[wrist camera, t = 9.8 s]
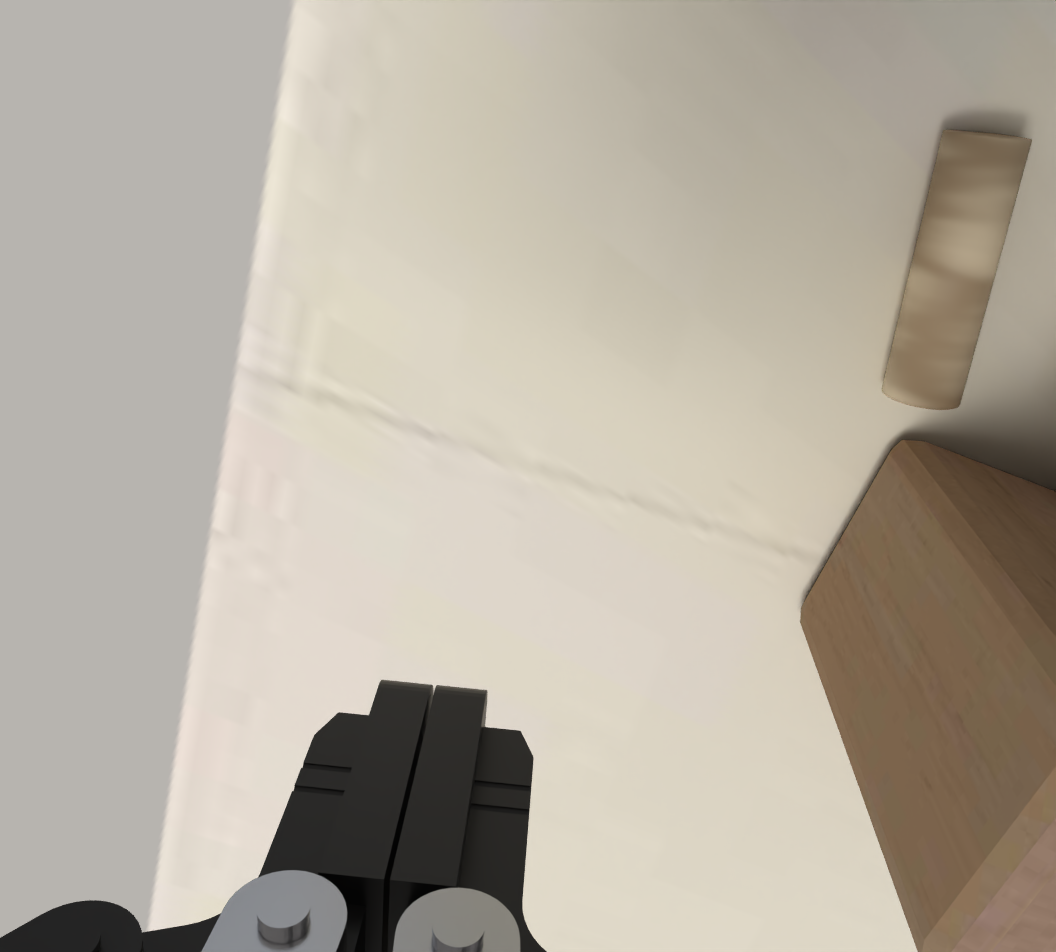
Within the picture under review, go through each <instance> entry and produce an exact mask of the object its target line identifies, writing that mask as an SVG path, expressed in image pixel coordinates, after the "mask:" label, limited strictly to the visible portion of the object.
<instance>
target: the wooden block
mask: <svg viewBox="0 0 1056 952" xmlns="http://www.w3.org/2000/svg"><path fill="white" fill-rule="evenodd" d="M800 623H801V626H802V629H803V631H804V634H805V637H806V640H807V643H808V645H809V648H810V651H811V654H812V657H813V659H814V662H815V665H816V668H817V671H818V673H819V676H820V679H821V682H822V685H823V687H824V690H825V693H826V696H827V699H828V701H829V704H830V707H831V710H832V713H833V715H834V718H835V721H836V724H837V727H838V729H839V732H840V735H841V738H842V741H843V743H844V746H845V749H846V752H847V755H848V757H849V760H850V763H851V766H852V769H853V771H854V774H855V777H856V780H857V783H858V785H859V788H860V791H861V794H862V797H863V799H864V802H865V805H866V808H867V811H868V813H869V816H870V819H871V822H872V825H873V827H874V830H875V833H876V836H877V839H878V841H879V844H880V847H881V850H882V853H883V855H884V858H885V861H886V864H887V867H888V869H889V872H890V875H891V878H892V881H893V883H894V886H895V889H896V892H897V895H898V897H899V900H900V903H901V906H902V909H903V911H904V914H905V917H906V920H907V923H908V925H909V928H910V931H911V934H912V937H913V939H914V942H915V945H916V948H917V951H918V952H1056V492H1055V491H1053V490H1050V489H1048V488H1045V487H1042V486H1040V485H1037V484H1035V483H1032V482H1029V481H1027V480H1024V479H1021V478H1019V477H1016V476H1014V475H1011V474H1008V473H1006V472H1003V471H1001V470H998V469H995V468H993V467H990V466H988V465H985V464H982V463H980V462H977V461H975V460H972V459H969V458H967V457H964V456H962V455H959V454H956V453H954V452H951V451H948V450H946V449H943V448H941V447H938V446H935V445H933V444H930V443H928V442H925V441H912V440H901V441H900V442H899V443H898V444H897V445H896V446H895V447H894V448H892V449H891V451H890V453H889V455H888V456H887V458H886V460H885V462H884V463H883V465H882V467H881V469H880V470H879V472H878V474H877V476H876V477H875V479H874V481H873V483H872V484H871V486H870V488H869V490H868V491H867V493H866V495H865V497H864V498H863V500H862V502H861V504H860V505H859V507H858V509H857V510H856V512H855V514H854V516H853V517H852V519H851V521H850V523H849V524H848V526H847V528H846V530H845V531H844V533H843V535H842V537H841V538H840V540H839V542H838V544H837V545H836V547H835V549H834V551H833V552H832V554H831V556H830V558H829V559H828V561H827V563H826V565H825V566H824V568H823V570H822V572H821V573H820V575H819V577H818V579H817V580H816V582H815V584H814V586H813V587H812V589H811V591H810V593H809V594H808V596H807V598H806V600H805V601H804V603H803V605H802V608H801V619H800Z"/></svg>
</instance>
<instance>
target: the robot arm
mask: <svg viewBox="0 0 1056 952" xmlns="http://www.w3.org/2000/svg"><path fill="white" fill-rule="evenodd" d="M486 707H487V690H479V689H469V688H459V687H450V686H440V685H437V686H436V688H435V691H434V695H433V685H428V684H418V683H408V682H399V681H389V680H381V681H380V683H379V686H378V689H377V692H376V695H375V698H374V701H373V705H372V708H371V711H370V714H369V715H359V714H349V713H340V712H339V713H338V714H336V715H335V716H334V717H333V718H332V719H331V720H330V721H329V722H328V723H327V724H326V725H325V726H323V727H322V728H321V729H320V730H319V731H318V732H317V733H316V734H315V735H314V737H313V740H312V742H311V745H310V747H309V750H308V752H307V755H306V758H305V760H304V764H303V768H301V770H300V773H299V775H298V778H297V781H296V783H295V788H294V791H292V793H291V796H290V798H289V801H288V804H287V806H286V809H285V811H284V814H283V816H282V819H281V821H280V824H279V827H278V829H277V832H276V834H275V837H274V839H273V842H272V844H271V847H270V850H269V852H268V855H267V857H266V860H265V862H264V865H263V867H262V870H261V873H260V875H259V877H258V878H256V879H254V880H252V881H250V882H249V883H247V884H246V885H244V886H243V887H241V888H240V889H239V890H238V891H237V892H236V893H235V894H234V895H233V896H232V897H231V898H230V899H229V901H228V902H227V904H226V905H225V907H224V909H223V911H222V913H221V914H218V915H216V916H214V917H212V918H210V919H207V920H204V921H201V922H198V923H194V924H189V925H184V926H179V927H173V928H167V929H161V930H155V931H149V932H143V933H142V930H141V928H140V925H139V923H138V921H137V920H136V918H135V917H134V915H132V914H131V913H130V912H129V911H128V910H127V909H125V908H123V907H121V906H119V905H116V904H113V903H110V902H105V901H80V902H74V903H70V904H66V905H62V906H60V907H57V908H54V909H52V910H50V911H48V912H46V913H44V914H42V915H40V916H38V917H36V918H34V919H33V920H31V921H29V922H28V923H26V924H24V925H22V926H20V927H19V928H17V929H15V930H13V931H12V932H10V933H8V934H6V935H5V936H3V937H1V938H0V952H546V951H545V950H544V949H543V948H542V947H541V946H540V945H539V944H538V943H537V941H536V940H535V939H534V938H533V936H532V935H531V933H530V931H529V930H528V927H527V925H526V922H525V920H524V916H523V911H522V897H523V885H524V872H525V859H526V846H527V834H528V821H529V808H530V796H531V783H532V770H533V755H532V753H531V751H530V749H529V747H528V745H527V743H526V741H525V739H524V737H523V735H522V733H521V731H517V730H507V729H497V728H488V727H485V720H486Z"/></svg>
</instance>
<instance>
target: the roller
mask: <svg viewBox="0 0 1056 952" xmlns="http://www.w3.org/2000/svg"><path fill="white" fill-rule="evenodd" d="M1031 142H1032V140H1031V139H1027V138H1022V137H1016V136H1010V135H1002V134H994V133H983V132H972V131H961V130H943V133H942V137H941V142H940V146H939V150H938V154H937V159H936V163H935V167H934V171H933V175H932V180H931V184H930V188H929V192H928V197H927V201H926V205H925V209H924V213H923V218H922V222H921V226H920V230H919V234H918V239H917V243H916V247H915V251H914V256H913V260H912V264H911V268H910V272H909V277H908V281H907V285H906V289H905V294H904V298H903V302H902V306H901V310H900V315H899V319H898V323H897V327H896V332H895V336H894V340H893V344H892V348H891V353H890V357H889V361H888V365H887V370H886V374H885V378H884V382H883V386H882V392H883V393H884V394H885V395H886V396H887V397H889V398H891V399H893V400H895V401H898V402H901V403H904V404H907V405H911V406H915V407H920V408H926V409H936V410H948V409H954V408H957V407H959V405H960V403H961V399H962V395H963V392H964V388H965V384H966V381H967V377H968V373H969V370H970V366H971V362H972V359H973V355H974V351H975V348H976V344H977V340H978V337H979V333H980V329H981V325H982V322H983V318H984V314H985V311H986V307H987V303H988V300H989V296H990V292H991V289H992V285H993V281H994V278H995V274H996V270H997V267H998V263H999V259H1000V256H1001V252H1002V248H1003V245H1004V241H1005V237H1006V234H1007V230H1008V226H1009V223H1010V219H1011V215H1012V212H1013V208H1014V204H1015V201H1016V197H1017V193H1018V190H1019V186H1020V182H1021V179H1022V175H1023V171H1024V168H1025V164H1026V160H1027V156H1028V153H1029V149H1030V145H1031Z"/></svg>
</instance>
